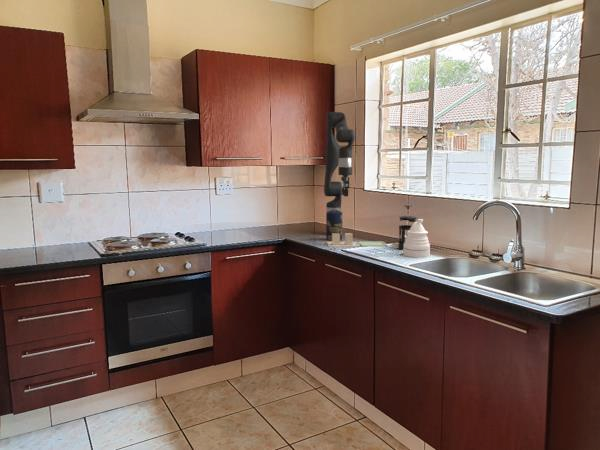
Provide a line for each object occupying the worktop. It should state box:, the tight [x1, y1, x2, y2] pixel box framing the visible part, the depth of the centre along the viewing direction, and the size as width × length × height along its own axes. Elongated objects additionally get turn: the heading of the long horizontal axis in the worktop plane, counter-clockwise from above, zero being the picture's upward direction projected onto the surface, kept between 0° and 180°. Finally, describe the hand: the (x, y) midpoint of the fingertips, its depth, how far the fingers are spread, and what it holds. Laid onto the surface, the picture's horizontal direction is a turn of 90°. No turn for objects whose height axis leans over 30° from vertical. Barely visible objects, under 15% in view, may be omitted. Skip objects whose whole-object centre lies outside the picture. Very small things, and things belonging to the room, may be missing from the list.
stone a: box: [331, 233, 341, 245], centre depth 264 cm, size 4×4×6 cm
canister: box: [325, 210, 343, 242], centre depth 280 cm, size 10×10×18 cm
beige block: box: [343, 232, 354, 245], centre depth 264 cm, size 4×4×6 cm
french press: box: [397, 205, 417, 251], centre depth 253 cm, size 12×9×23 cm
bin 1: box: [326, 241, 361, 248], centre depth 264 cm, size 12×17×1 cm
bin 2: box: [357, 240, 389, 248], centre depth 265 cm, size 12×14×1 cm
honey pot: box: [402, 218, 431, 259], centre depth 236 cm, size 13×13×18 cm
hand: (345, 195), depth 265 cm, fingers open, 8 cm apart
